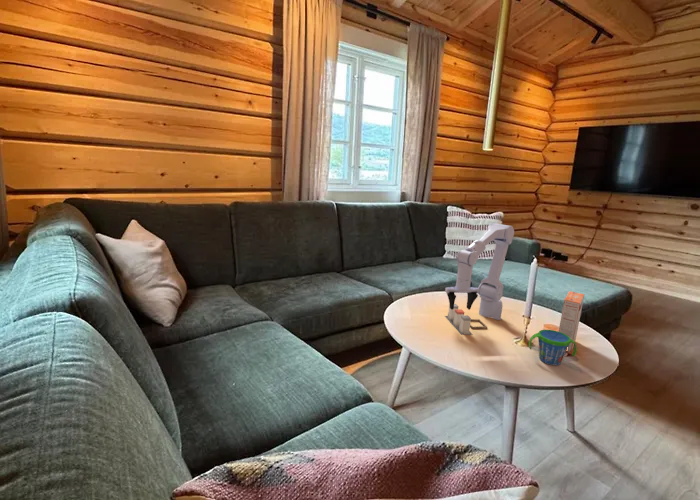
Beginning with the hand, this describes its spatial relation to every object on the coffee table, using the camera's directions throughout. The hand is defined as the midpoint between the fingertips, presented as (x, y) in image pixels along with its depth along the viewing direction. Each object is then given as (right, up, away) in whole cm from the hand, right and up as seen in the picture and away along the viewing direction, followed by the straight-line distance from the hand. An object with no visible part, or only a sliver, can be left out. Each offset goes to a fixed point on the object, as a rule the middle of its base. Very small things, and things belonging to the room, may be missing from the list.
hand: (459, 308), depth 163 cm
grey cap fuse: (-1, -6, +8) cm, 10 cm away
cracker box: (+40, -14, -9) cm, 43 cm away
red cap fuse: (0, -7, +2) cm, 8 cm away
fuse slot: (0, -9, -4) cm, 10 cm away
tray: (+7, -9, +3) cm, 12 cm away
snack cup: (+27, -16, -22) cm, 38 cm away
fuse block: (0, -8, +2) cm, 9 cm away
